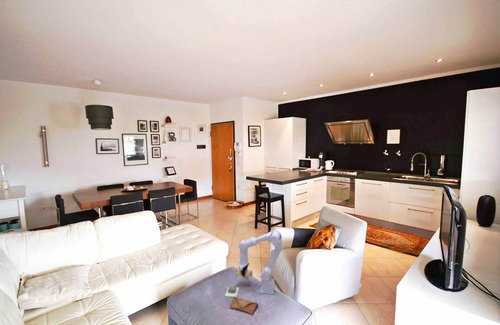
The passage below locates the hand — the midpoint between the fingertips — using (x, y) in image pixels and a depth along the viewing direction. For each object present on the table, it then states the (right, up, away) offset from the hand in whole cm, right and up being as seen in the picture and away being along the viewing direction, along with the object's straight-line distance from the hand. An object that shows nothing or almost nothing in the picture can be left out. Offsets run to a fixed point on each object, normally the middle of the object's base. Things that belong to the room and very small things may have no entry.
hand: (244, 274), depth 168 cm
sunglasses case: (0, -11, -22) cm, 24 cm away
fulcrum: (-8, -10, -6) cm, 14 cm away
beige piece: (0, -2, 0) cm, 2 cm away
